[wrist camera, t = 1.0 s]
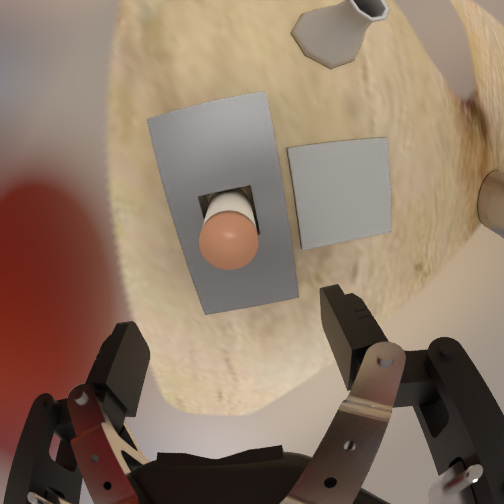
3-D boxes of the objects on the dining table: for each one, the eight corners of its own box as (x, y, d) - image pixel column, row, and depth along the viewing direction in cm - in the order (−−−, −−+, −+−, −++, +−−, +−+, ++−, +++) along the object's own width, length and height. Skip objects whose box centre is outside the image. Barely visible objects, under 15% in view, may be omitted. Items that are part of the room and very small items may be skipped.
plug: (246, 180, 26) (252, 209, 17) (253, 217, 28) (263, 263, 19) (206, 188, 27) (192, 222, 18) (215, 225, 28) (207, 274, 19)
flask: (371, 45, 20) (426, 22, 11) (330, 80, 22) (378, 62, 13) (323, -1, 18) (359, -43, 9) (277, 32, 20) (299, -11, 11)
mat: (384, 137, 25) (386, 137, 24) (388, 230, 30) (390, 232, 29) (286, 147, 25) (287, 148, 25) (301, 248, 30) (302, 250, 29)
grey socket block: (261, 96, 23) (265, 90, 19) (291, 277, 32) (298, 297, 28) (159, 120, 23) (146, 119, 20) (207, 293, 32) (204, 315, 28)
